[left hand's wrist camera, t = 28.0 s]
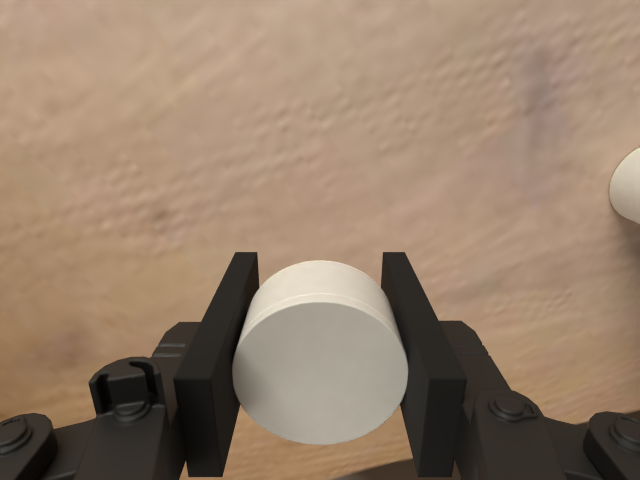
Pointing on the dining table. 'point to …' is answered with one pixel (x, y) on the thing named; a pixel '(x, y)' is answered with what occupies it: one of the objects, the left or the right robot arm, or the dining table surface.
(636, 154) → the white tall cylinder
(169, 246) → the dining table surface
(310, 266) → the lid
